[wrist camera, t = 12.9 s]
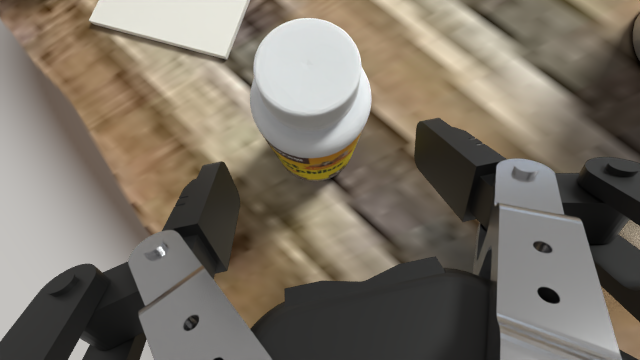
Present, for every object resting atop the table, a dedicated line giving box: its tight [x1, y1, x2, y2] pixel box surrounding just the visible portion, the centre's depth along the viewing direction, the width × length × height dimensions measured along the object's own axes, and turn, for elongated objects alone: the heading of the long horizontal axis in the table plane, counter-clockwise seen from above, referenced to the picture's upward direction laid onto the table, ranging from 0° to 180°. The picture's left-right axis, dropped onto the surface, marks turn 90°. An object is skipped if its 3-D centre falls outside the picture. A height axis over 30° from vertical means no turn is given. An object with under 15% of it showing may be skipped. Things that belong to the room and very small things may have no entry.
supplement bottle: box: [250, 18, 371, 181], centre depth 14 cm, size 6×6×10 cm
